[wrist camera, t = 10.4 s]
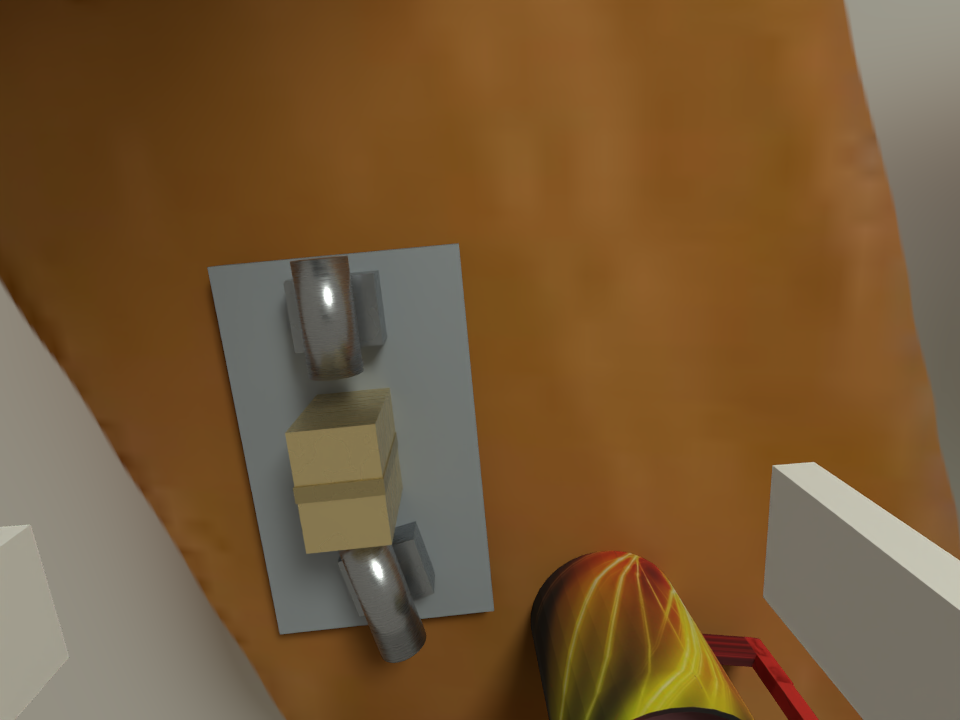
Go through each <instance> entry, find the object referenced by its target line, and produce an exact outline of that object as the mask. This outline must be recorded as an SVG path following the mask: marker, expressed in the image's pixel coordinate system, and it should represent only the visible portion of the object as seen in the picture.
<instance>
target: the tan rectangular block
mask: <svg viewBox="0 0 960 720" xmlns="http://www.w3.org/2000/svg"><path fill="white" fill-rule="evenodd" d="M285 436H286V442H287V448H288V453H289V459H290V465H291V470H292V476H293V481H294V487H293V492H294V498H295V503H296V504H298V509H299V515H300V521H301V526H302V532H303V538H304V543H305V549H306V554H310V553H320V552H329V551H338V550H348V549H357V548H367V547H376V546H386V545H392V542H393V537H394V531H395V526H396V521H397V516H398V511H399V506H400V500H401V495H402V490H403V485H402V477H401V470H400V462H399V455H398V440H397V432H395V424H394V416H393V409H392V401H391V393H390V388H380V389H370V390H360V391H350V392H340V393H330V394H320V395H316V396H315V397H314V399H313V400H312V401H311V402H310V403H309V405H308V406H307V407H306V408H305V409H304V411H303V412H302V413H301V414H300V416H299V417H298V418H297V419H296V420H295V422H294V423H293V424H292V425H291V426H290V428H289V429H288V430H287V431H286V432H285Z"/></svg>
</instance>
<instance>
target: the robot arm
mask: <svg viewBox="0 0 960 720" xmlns="http://www.w3.org/2000/svg"><path fill="white" fill-rule="evenodd" d="M763 597H764V599H765V600H766V601H767V602H768V604H769V605H770V606H771V607H772V608H773V610H774V611H775V612H776V613H777V615H778V616H779V617H780V618H781V619H782V621H783V622H784V623H785V624H786V626H787V627H788V628H789V629H790V630H791V632H792V633H793V634H794V635H795V637H796V638H797V639H798V640H799V641H800V643H801V644H802V645H803V646H804V648H805V649H806V650H807V651H808V652H809V654H810V655H811V656H812V657H813V659H814V660H815V661H816V662H817V663H818V665H819V666H820V667H821V668H822V670H823V671H824V672H825V673H826V674H827V676H828V677H829V678H830V679H831V681H832V682H833V683H834V684H835V685H836V687H837V688H838V689H839V690H840V691H841V693H842V694H843V695H844V696H845V698H846V699H847V700H848V701H849V702H850V704H851V705H852V706H853V707H854V709H855V710H856V711H857V712H858V713H859V715H860V716H861V717H862V718H863V720H960V561H959V560H958V559H956V558H955V557H954V556H952V555H951V554H949V553H948V552H946V551H945V550H943V549H942V548H940V547H939V546H937V545H936V544H934V543H933V542H931V541H930V540H928V539H927V538H925V537H924V536H922V535H921V534H920V533H918V532H917V531H915V530H914V529H912V528H911V527H909V526H908V525H906V524H905V523H903V522H902V521H900V520H899V519H897V518H896V517H894V516H893V515H891V514H890V513H889V512H887V511H886V510H884V509H883V508H881V507H880V506H878V505H877V504H875V503H874V502H872V501H871V500H869V499H868V498H866V497H865V496H863V495H862V494H860V493H859V492H857V491H856V490H855V489H853V488H852V487H850V486H849V485H847V484H846V483H844V482H843V481H841V480H840V479H838V478H837V477H835V476H834V475H832V474H831V473H829V472H828V471H826V470H825V469H823V468H822V467H821V466H819V465H818V464H816V463H815V462H810V463H797V464H785V465H773V467H772V481H771V495H770V509H769V523H768V537H767V551H766V565H765V579H764V592H763ZM68 658H69V654H68V650H67V647H66V644H65V640H64V637H63V634H62V630H61V626H60V623H59V620H58V616H57V613H56V609H55V606H54V603H53V599H52V595H51V592H50V589H49V585H48V582H47V578H46V575H45V571H44V568H43V565H42V561H41V558H40V554H39V551H38V547H37V544H36V541H35V537H34V533H33V530H32V527H31V524H30V525H17V526H5V527H0V720H15V719H16V718H17V717H18V716H19V715H20V713H21V712H22V711H23V710H24V709H25V708H26V706H27V705H28V704H29V703H30V702H31V701H32V699H34V697H35V696H36V695H37V694H38V693H39V692H40V690H41V689H42V688H43V687H44V686H45V685H46V684H47V682H48V681H49V680H50V679H51V678H52V677H53V676H54V674H55V673H56V672H57V671H58V670H59V669H60V668H61V666H62V665H63V664H64V663H65V662H66V661H67V659H68Z"/></svg>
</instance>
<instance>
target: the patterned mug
mask: <svg viewBox="0 0 960 720" xmlns="http://www.w3.org/2000/svg"><path fill="white" fill-rule="evenodd" d="M531 629H532V635H533V640H534V645H535V650H536V655H537V660H538V665H539V670H540V675H541V680H542V685H543V690H544V695H545V700H546V705H547V711H548V716H549V720H755V719H754V717H753V716H752V714H751V713H750V711H749V709H748V708H747V706H746V705H745V703H744V701H743V700H742V698H741V696H740V695H739V693H738V692H737V690H736V688H735V687H734V685H733V683H732V682H731V680H730V679H729V677H728V675H727V674H726V672H725V671H724V669H723V667H722V666H721V665H734V666H748V667H753V669H754V670H755V671H756V673H757V674H758V676H759V677H760V679H761V680H762V682H763V683H764V685H765V686H766V688H767V689H768V690H769V692H770V693H771V695H772V696H773V698H774V699H775V701H776V702H777V704H778V705H779V706H780V708H781V709H782V711H783V712H784V714H785V715H786V717H787V718H788V720H819V719H818V718H817V717H816V715H815V714H814V713H813V711H812V710H811V709H810V707H809V706H808V705H807V703H806V702H805V701H804V699H803V698H802V697H801V695H800V694H799V693H798V691H797V690H796V689H795V687H794V686H793V683H792V681H791V680H790V679H789V677H788V676H787V675H786V673H785V672H784V671H783V669H782V668H781V667H780V665H779V664H778V663H777V661H776V660H775V659H774V657H773V656H772V655H771V653H770V652H769V651H768V649H767V648H766V647H765V645H764V644H763V643H762V641H761V640H760V639H758V638H751V637H738V636H724V635H711V634H702V633H701V632H700V630H699V628H698V627H697V625H696V624H695V622H694V620H693V619H692V617H691V615H690V614H689V612H688V611H687V609H686V607H685V606H684V604H683V603H682V601H681V599H680V598H679V596H678V594H677V593H676V591H675V590H674V588H673V586H672V585H671V583H670V582H669V580H668V579H667V577H666V576H665V575H664V573H663V572H662V571H661V570H660V569H658V568H657V567H656V566H655V565H654V564H653V563H651V562H649V561H647V560H646V559H644V558H642V557H640V556H637V555H634V554H631V553H627V552H620V551H599V552H594V553H590V554H585V555H582V556H580V557H578V558H575V559H573V560H571V561H569V562H567V563H566V564H564V565H563V566H561V567H560V568H558V569H557V570H556V571H555V572H554V573H553V574H552V575H551V576H550V577H549V578H548V579H547V580H546V581H545V583H544V584H543V585H542V587H541V588H540V590H539V592H538V594H537V596H536V598H535V600H534V604H533V608H532V612H531Z"/></svg>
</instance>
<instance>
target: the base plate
mask: <svg viewBox="0 0 960 720" xmlns="http://www.w3.org/2000/svg"><path fill="white" fill-rule="evenodd" d="M336 256H348V261H349V268H350V273H353V272H364V271H374V270H379V277H380V285H381V293H382V300H383V308H384V316H385V323H386V331H387V339H386V340H385V342H384V344H383V345H375V346H365V347H361V353H362V361H363V368H364V371H363V372H362V373H360V374H358V375H356V376H353V377H349V378H345V379H339V380H332V381H313V380H310V379H309V376H308V370H307V364H306V357H305V352H303V353H295V350H294V344H293V338H292V332H291V326H290V320H289V314H288V308H287V302H286V296H285V291H284V285H283V281H286V280H289V279H293V278H292V272H291V266H290V261H296V260H305V259H314V258H324V257H336ZM207 268H208V273H209V278H210V283H211V288H212V293H213V298H214V303H215V308H216V313H217V318H218V323H219V328H220V334H221V339H222V344H223V349H224V354H225V359H226V364H227V369H228V374H229V379H230V384H231V389H232V394H233V399H234V404H235V409H236V414H237V420H238V425H239V430H240V435H241V440H242V445H243V450H244V455H245V460H246V465H247V470H248V475H249V480H250V485H251V490H252V495H253V501H254V506H255V511H256V516H257V521H258V526H259V531H260V536H261V541H262V546H263V551H264V556H265V561H266V566H267V571H268V576H269V581H270V587H271V592H272V597H273V602H274V607H275V612H276V617H277V622H278V627H279V632H280V634H288V633H297V632H306V631H315V630H324V629H333V628H343V627H352V626H361V625H368V622H367V620H366V618H365V615H364V616H359V614H358V611H357V609H356V606H355V604H354V602H353V599H352V597H351V594H350V592H349V590H348V587H347V585H346V582H345V580H344V578H343V575H342V573H341V570H340V568H339V566H338V563H337V562H338V559H339V556H340V555H339V552H338V551H329V552H320V553H310V554H306V549H305V543H304V538H303V532H302V526H301V521H300V515H299V509H298V504H296V503H295V498H294V492H293V487H294V481H293V476H292V470H291V465H290V459H289V453H288V448H287V442H286V436H285V432H286V431H287V430H288V429H289V428H290V426H291V425H292V424H293V423H294V422H295V420H296V419H297V418H298V417H299V416H300V414H301V413H302V412H303V411H304V409H305V408H306V407H307V406H308V405H309V403H310V402H311V401H312V400H313V399H314V397H315V396H316V395H320V394H330V393H340V392H350V391H360V390H370V389H380V388H390V393H391V401H392V409H393V416H394V424H395V432H397V440H398V455H399V462H400V470H401V477H402V485H403V490H402V495H401V500H400V506H399V511H398V516H397V521H396V526H395V527H398V526H401V525H404V524H408V523H411V522H414V521H416V523H417V525H418V528H419V531H420V533H421V536H422V539H423V541H424V544H425V547H426V550H427V552H428V555H429V558H430V560H431V563H432V566H433V568H434V571H435V588H434V594H433V595H430V596H427V597H423V598H420V599H417V600H413V601H414V603H415V606H416V609H417V611H418V614H419V616H420V619H424V618H433V617H442V616H451V615H461V614H470V613H479V612H488V611H494V605H493V595H492V584H491V574H490V564H489V553H488V543H487V533H486V522H485V512H484V501H483V491H482V481H481V470H480V460H479V450H478V439H477V429H476V418H475V408H474V398H473V387H472V377H471V367H470V356H469V346H468V336H467V325H466V315H465V304H464V294H463V284H462V273H461V263H460V253H459V244H458V243H457V244H447V245H436V246H425V247H414V248H403V249H393V250H382V251H371V252H360V253H350V254H339V255H328V256H317V257H307V258H296V259H285V260H274V261H264V262H253V263H242V264H231V265H220V266H213V267H207Z"/></svg>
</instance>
